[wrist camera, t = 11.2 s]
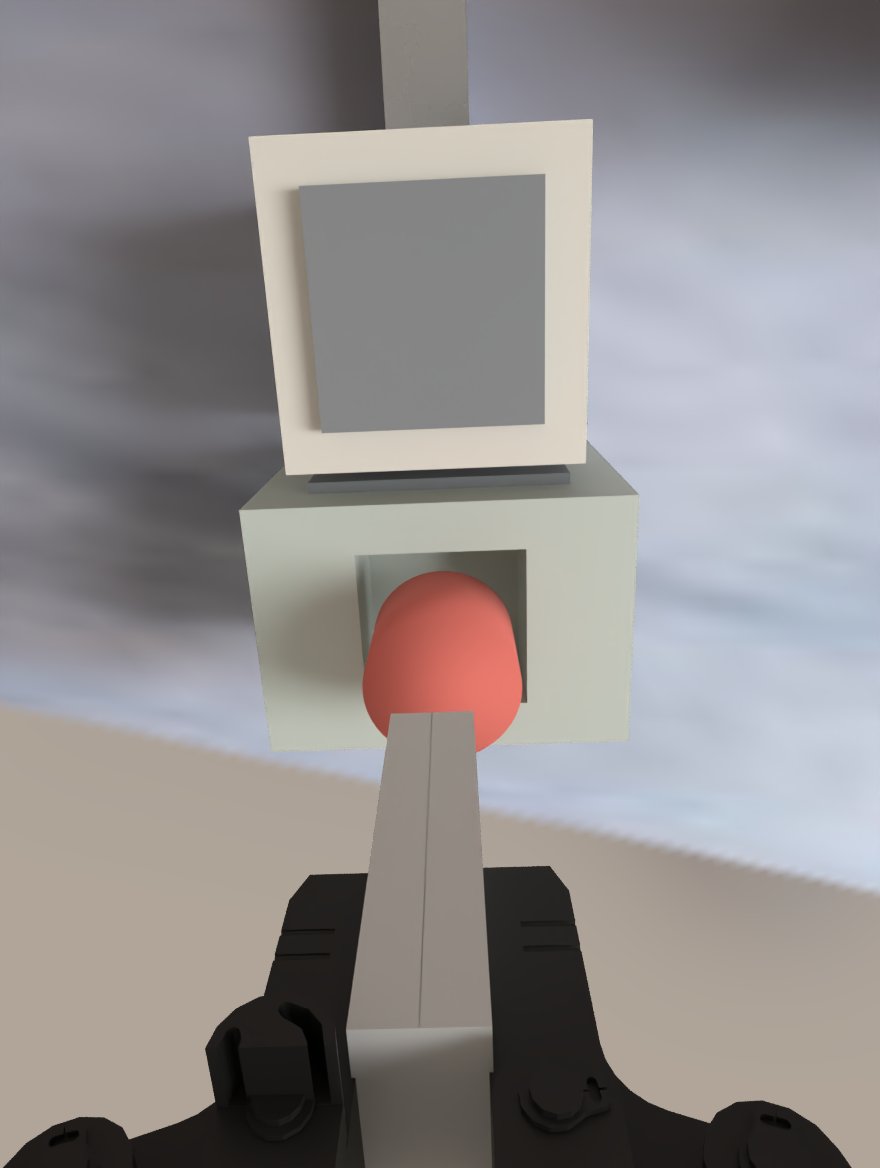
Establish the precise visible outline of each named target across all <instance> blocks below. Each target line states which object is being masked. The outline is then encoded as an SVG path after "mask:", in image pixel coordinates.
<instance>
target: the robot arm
mask: <svg viewBox="0 0 880 1168" xmlns="http://www.w3.org/2000/svg"><path fill="white" fill-rule="evenodd" d="M281 931H282V932H281V936H280V937H279V941H278V945H277V948H276V952H275V961H273V963H272V967H271V971H270V975H269V978H268V982H267V986H266V990H265V993H264V996H262V997H258V998H256V999H254V1000H252V1001H250V1002H248V1003H246V1004H244V1005H242V1006H240V1007H238V1008H236V1009H235V1010H234V1011H233V1012H232V1013H231V1014H230V1015H229V1016H228V1017H227V1018H226V1019H225V1020H223V1021H222V1022H221V1023H220V1024H219V1025H218V1026H217V1028H216V1029H215V1031H214V1033H213V1035H212V1037H211V1039H210V1041H209V1042H208V1044H207V1046H206V1048H205V1050H206V1055H207V1060H208V1066H209V1071H210V1076H211V1081H212V1086H213V1091H214V1096H215V1103H213V1104H212V1105H210V1106H209V1107H207V1108H206V1109H204V1110H203V1111H201V1112H200V1113H199V1114H197V1115H195V1116H193V1117H190V1118H188V1119H186V1120H184V1121H181V1122H179V1123H177V1124H174V1125H171V1126H168V1127H165V1128H162V1129H159V1130H156V1131H153V1132H150V1133H147V1134H144V1135H141V1136H138V1137H135V1138H132V1139H128V1137H127V1135H126V1133H125V1131H124V1130H123V1128H122V1127H121V1126H119V1125H117V1124H115V1123H113V1122H111V1121H110V1120H108V1119H106V1118H101V1117H78V1118H75V1119H73V1120H69V1121H66V1122H63V1123H60V1124H57V1125H54V1126H52V1127H50V1128H49V1129H47V1130H46V1131H44V1132H43V1133H42V1134H40V1135H38V1136H37V1137H35V1138H34V1139H32V1140H30V1141H29V1142H27V1143H26V1144H25V1145H24V1146H23V1147H22V1148H21V1149H20V1150H19V1151H18V1152H17V1154H16V1155H15V1156H14V1157H13V1158H12V1159H11V1160H10V1161H9V1162H8V1163H7V1164H6V1165H5V1166H4V1167H3V1168H851V1166H850V1165H849V1163H848V1162H847V1161H846V1159H845V1158H844V1156H843V1155H842V1154H841V1152H840V1151H839V1149H838V1148H837V1147H836V1146H835V1145H834V1144H833V1143H832V1142H831V1141H830V1140H829V1138H828V1137H827V1136H826V1135H825V1134H824V1133H823V1132H822V1131H821V1130H820V1129H819V1128H818V1127H817V1126H816V1125H815V1124H813V1123H812V1122H810V1121H809V1120H807V1119H805V1118H804V1117H802V1116H801V1115H799V1114H798V1113H796V1112H794V1111H793V1110H791V1109H789V1108H786V1107H782V1106H779V1105H775V1104H772V1103H769V1102H765V1101H747V1102H746V1101H745V1102H736V1103H734V1104H732V1105H730V1106H728V1107H727V1108H725V1109H723V1110H721V1111H719V1112H717V1113H716V1115H715V1117H714V1118H713V1120H712V1121H711V1123H707V1122H704V1121H700V1120H697V1119H694V1118H691V1117H687V1116H684V1115H681V1114H677V1113H674V1112H671V1111H668V1110H665V1109H663V1108H660V1107H658V1106H656V1105H653V1104H651V1103H648V1102H647V1101H645V1100H644V1099H642V1098H641V1097H639V1096H638V1095H636V1094H634V1093H633V1092H632V1091H630V1090H629V1089H628V1088H627V1087H626V1086H625V1085H624V1084H623V1083H622V1082H621V1081H620V1080H619V1079H618V1078H617V1077H616V1075H615V1074H614V1072H613V1071H612V1069H611V1067H610V1066H609V1064H608V1063H607V1061H606V1059H605V1057H604V1054H603V1051H602V1048H601V1045H600V1041H599V1036H598V1031H597V1026H596V1021H595V1017H594V1011H593V1007H592V1001H591V996H590V991H589V987H588V982H587V977H586V972H585V968H584V962H583V957H582V952H581V951H580V942H579V937H578V933H577V928H576V926H575V918H574V913H573V908H572V903H571V898H570V893H569V890H568V889H567V887H566V886H565V885H564V884H563V882H562V881H561V880H560V879H559V877H558V876H557V875H556V873H555V872H554V871H553V870H552V869H551V867H550V866H536V867H535V866H532V867H496V868H483V864H482V847H481V830H480V812H479V796H478V779H477V762H476V745H475V728H474V711H460V712H428V713H397V714H391V716H390V723H389V730H388V737H387V744H386V751H385V758H384V765H383V772H382V779H381V786H380V793H379V800H378V808H377V815H376V822H375V829H374V836H373V843H372V850H371V858H370V864H369V871H368V873H360V874H324V875H323V874H322V875H309V877H308V878H307V879H306V880H305V882H304V883H303V884H302V885H301V887H300V888H299V889H298V890H297V892H296V893H295V894H294V895H293V897H292V898H291V899H290V900H289V904H288V907H287V911H286V915H285V918H284V922H283V926H282V930H281Z"/></svg>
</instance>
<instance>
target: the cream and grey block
mask: <svg viewBox="0 0 880 1168" xmlns="http://www.w3.org/2000/svg"><path fill="white" fill-rule="evenodd" d="M249 146H250V155H251V164H252V173H253V182H254V191H255V200H256V209H257V218H258V227H259V237H260V246H261V255H262V264H263V273H264V282H265V291H266V300H267V309H268V318H269V327H270V336H271V345H272V354H273V363H274V372H275V381H276V390H277V399H278V408H279V417H280V426H281V435H282V444H283V453H284V462H285V471H286V475H303V474H328V473H353V472H379V471H404V470H429V469H455V468H480V467H505V466H531V465H556V464H581V463H586V439H587V390H588V341H589V293H590V244H591V195H592V147H593V119H581V120H562V121H542V122H523V123H503V124H484V125H465V126H445V127H426V128H406V129H387V130H368V131H348V132H329V133H309V134H290V135H270V136H251V137H249Z"/></svg>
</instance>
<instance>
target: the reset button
mask: <svg viewBox="0 0 880 1168" xmlns="http://www.w3.org/2000/svg"><path fill="white" fill-rule="evenodd" d="M362 688H363V698H364V703H365V706H366V710H367V712H368V714H369V716H370V718H371V720H372V722H373V723H374V725H375V726H376V728H377V729H378V730H379V731H380V732H381V733H382V735H384V736H385V737H386V738H387V737H388V730H389V723H390V716H391V714H397V713H428V712H460V711H474V728H475V745H476V752H478V751H480V750H482V749H484V748H486V747H488V746H489V745H491V744H492V743H494V742H495V741H496V740H497V739H499V738H500V737H501V736H502V735H503V734H504V733H505V731H506V730H507V729H508V728H509V726H510V725H511V724H512V722H513V720H514V718H515V716H516V715H517V712H518V709H519V706H520V702H521V698H522V678H521V672H520V667H519V661H518V656H517V651H516V645H515V640H514V634H513V629H512V624H511V620H510V616H509V614H508V611H507V609H506V607H505V605H504V603H503V602H502V600H501V599H500V598H499V596H498V595H497V594H496V593H495V592H494V591H493V590H492V589H491V588H490V587H488V586H487V585H486V584H485V583H483V582H481V581H479V580H478V579H476V578H474V577H471V576H469V575H466V574H462V573H458V572H452V571H435V572H429V573H424V574H421V575H418V576H415V577H413V578H411V579H409V580H407V581H405V582H404V583H402V584H401V585H399V586H398V587H397V588H396V589H395V590H394V591H393V592H392V593H391V594H390V595H389V596H388V597H387V599H386V600H385V602H384V603H383V605H382V606H381V609H380V611H379V613H378V616H377V620H376V623H375V628H374V632H373V636H372V640H371V645H370V649H369V653H368V658H367V662H366V666H365V670H364V675H363V683H362Z"/></svg>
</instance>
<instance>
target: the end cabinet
mask: <svg viewBox="0 0 880 1168" xmlns="http://www.w3.org/2000/svg"><path fill="white" fill-rule="evenodd" d="M239 514H240V521H241V529H242V536H243V544H244V551H245V559H246V566H247V574H248V581H249V589H250V596H251V604H252V611H253V619H254V626H255V634H256V641H257V649H258V656H259V664H260V671H261V679H262V686H263V694H264V701H265V709H266V716H267V724H268V731H269V739H270V746H271V752H283V751H317V750H351V749H384V748H386V744H387V738H386V737H385V736H384V735H382V733H381V732H380V731H379V730H378V729H377V728H376V726H375V725H374V723H373V722H372V720H371V718H370V716H369V714H368V712H367V710H366V706H365V703H364V698H363V688H362V683H363V675H364V670H365V666H366V662H367V658H368V653H369V649H370V645H371V640H372V636H373V632H374V628H375V623H376V620H377V616H378V613H379V611H380V609H381V606H382V605H383V603H384V602H385V600H386V599H387V597H388V596H389V595H390V594H391V593H392V592H393V591H394V590H395V589H396V588H397V587H398V586H399V585H401V584H402V583H404V582H405V581H407V580H409V579H411V578H413V577H415V576H418V575H421V574H424V573H429V572H435V571H452V572H458V573H462V574H466V575H469V576H471V577H474V578H476V579H478V580H479V581H481V582H483V583H485V584H486V585H487V586H488V587H490V588H491V589H492V590H493V591H494V592H495V593H496V594H497V595H498V596H499V598H500V599H501V600H502V602H503V603H504V605H505V607H506V609H507V611H508V614H509V616H510V620H511V624H512V629H513V634H514V640H515V645H516V651H517V656H518V661H519V667H520V672H521V678H522V698H521V702H520V706H519V709H518V712H517V715H516V716H515V718H514V720H513V722H512V724H511V725H510V726H509V728H508V729H507V730H506V731H505V733H504V734H503V735H502V736H501V737H500V738H499V739H497V740H496V741H495V742H494V743H492V744H491V745H519V744H552V743H586V742H620V741H629V719H630V696H631V674H632V651H633V629H634V606H635V584H636V561H637V539H638V516H639V494H638V493H637V492H636V491H635V490H634V489H633V488H632V487H631V486H630V485H629V484H628V482H627V481H626V480H625V479H624V478H623V477H622V476H621V475H620V474H619V473H618V472H617V471H616V470H615V469H614V468H613V467H612V466H611V465H610V464H609V463H608V462H607V461H606V460H605V459H604V457H603V456H602V455H601V454H600V453H599V452H598V451H597V450H596V449H595V448H594V447H593V446H592V445H591V444H590V443H589V442H588V441H587V440H586V463H581V464H556V465H531V466H505V467H480V468H455V469H429V470H404V471H379V472H353V473H328V474H303V475H286V471H285V465H284V466H283V467H282V468H281V469H280V470H279V471H278V472H277V473H276V474H275V475H274V476H273V477H272V478H271V479H270V480H269V481H268V482H267V483H266V484H265V485H264V486H263V487H262V488H261V489H260V490H259V491H258V492H257V493H256V494H255V495H254V496H253V497H252V498H251V499H250V500H249V501H248V502H247V503H246V504H245V505H244V506H243V507H242V508H241V509H240V510H239Z"/></svg>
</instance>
